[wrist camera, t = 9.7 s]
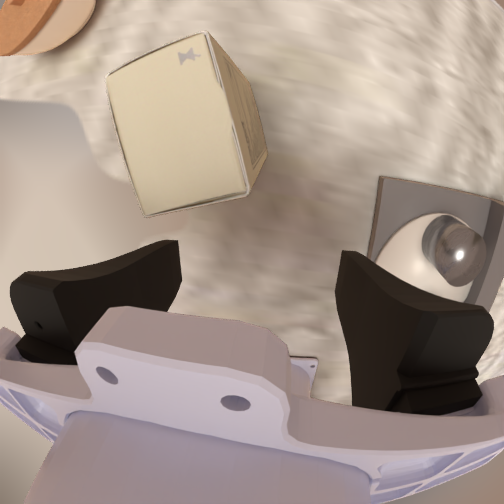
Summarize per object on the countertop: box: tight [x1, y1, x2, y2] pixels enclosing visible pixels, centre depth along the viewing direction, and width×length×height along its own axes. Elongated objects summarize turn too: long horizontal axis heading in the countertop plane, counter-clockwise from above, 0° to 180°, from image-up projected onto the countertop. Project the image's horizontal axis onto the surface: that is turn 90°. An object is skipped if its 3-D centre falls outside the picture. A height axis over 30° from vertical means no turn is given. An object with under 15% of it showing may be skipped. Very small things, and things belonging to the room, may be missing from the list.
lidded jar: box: [0, 0, 96, 56], centre depth 10 cm, size 11×11×9 cm
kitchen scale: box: [367, 176, 504, 313], centre depth 20 cm, size 16×15×3 cm
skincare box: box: [105, 30, 268, 218], centre depth 13 cm, size 6×4×12 cm
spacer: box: [422, 215, 486, 287], centre depth 17 cm, size 4×4×4 cm
